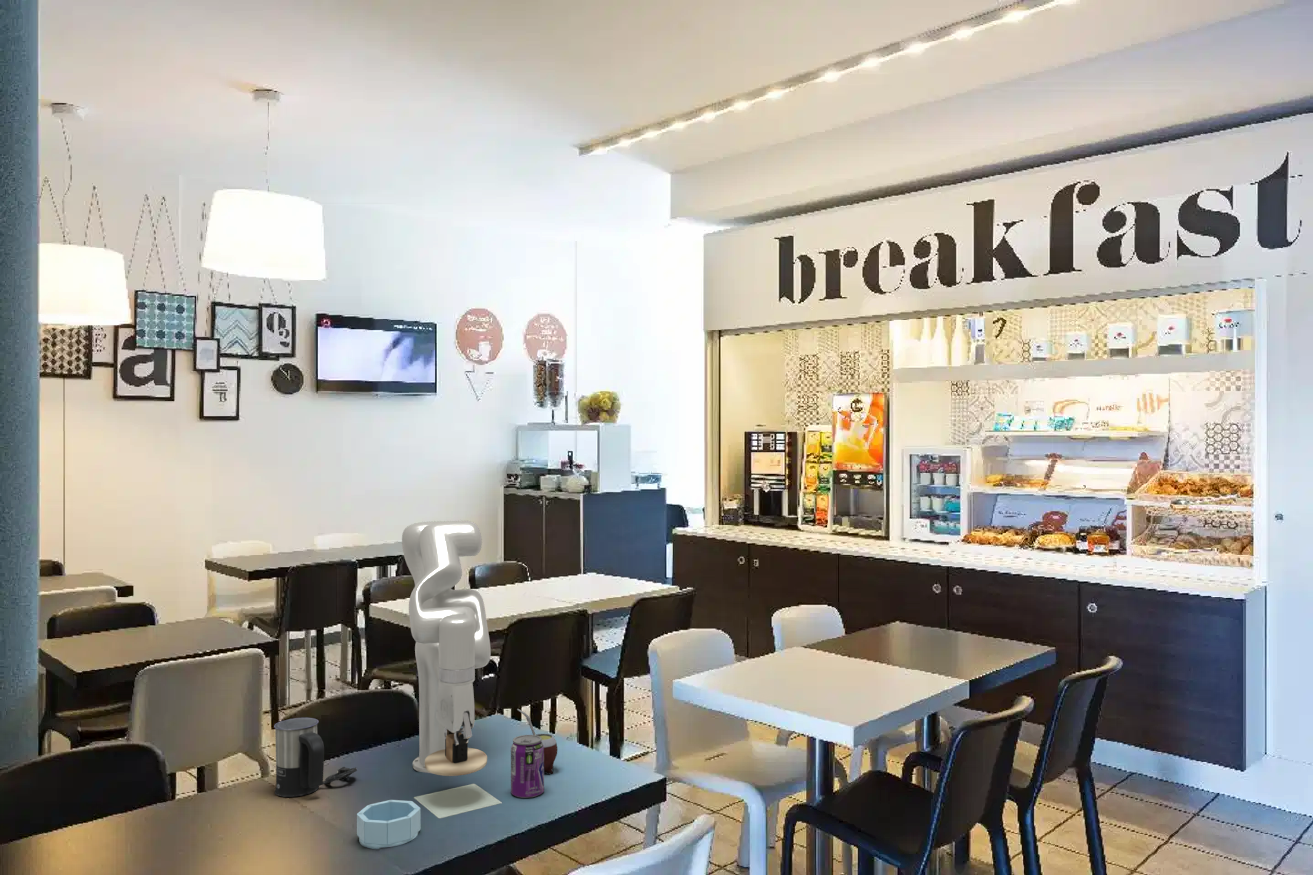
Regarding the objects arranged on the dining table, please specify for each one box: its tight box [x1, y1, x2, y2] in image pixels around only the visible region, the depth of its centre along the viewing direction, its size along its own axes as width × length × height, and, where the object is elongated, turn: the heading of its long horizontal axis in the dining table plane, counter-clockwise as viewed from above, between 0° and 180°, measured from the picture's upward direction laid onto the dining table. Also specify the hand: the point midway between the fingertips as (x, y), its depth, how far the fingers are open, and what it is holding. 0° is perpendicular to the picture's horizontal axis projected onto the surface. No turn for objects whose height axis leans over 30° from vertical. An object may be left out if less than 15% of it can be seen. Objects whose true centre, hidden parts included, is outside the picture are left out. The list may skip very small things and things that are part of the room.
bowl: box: [356, 799, 422, 850], centre depth 182 cm, size 11×11×5 cm
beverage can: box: [510, 734, 545, 799], centre depth 204 cm, size 7×7×12 cm
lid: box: [425, 732, 488, 777], centre depth 201 cm, size 13×13×6 cm
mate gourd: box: [516, 708, 558, 775], centre depth 218 cm, size 8×8×15 cm
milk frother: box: [273, 717, 358, 798], centre depth 209 cm, size 14×16×15 cm
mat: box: [413, 783, 503, 820], centre depth 200 cm, size 14×14×1 cm
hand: (456, 757), depth 201 cm, fingers closed on lid, 3 cm apart
